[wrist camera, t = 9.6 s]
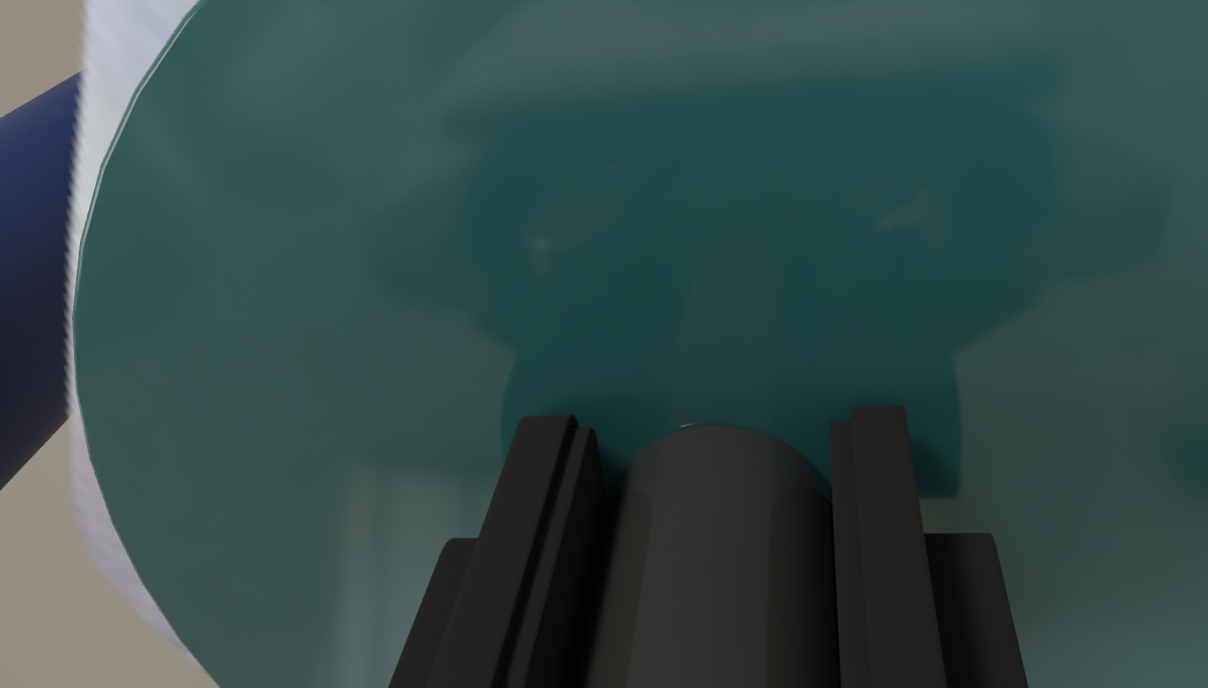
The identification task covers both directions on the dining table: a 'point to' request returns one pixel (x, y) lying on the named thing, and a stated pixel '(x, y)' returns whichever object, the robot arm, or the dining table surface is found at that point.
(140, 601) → the dining table surface
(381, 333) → the lid
